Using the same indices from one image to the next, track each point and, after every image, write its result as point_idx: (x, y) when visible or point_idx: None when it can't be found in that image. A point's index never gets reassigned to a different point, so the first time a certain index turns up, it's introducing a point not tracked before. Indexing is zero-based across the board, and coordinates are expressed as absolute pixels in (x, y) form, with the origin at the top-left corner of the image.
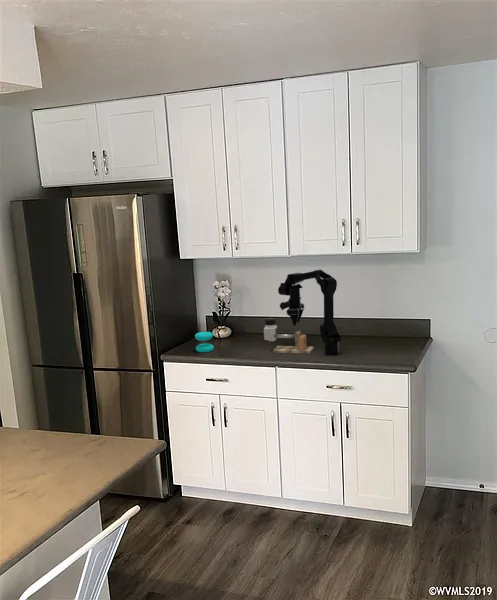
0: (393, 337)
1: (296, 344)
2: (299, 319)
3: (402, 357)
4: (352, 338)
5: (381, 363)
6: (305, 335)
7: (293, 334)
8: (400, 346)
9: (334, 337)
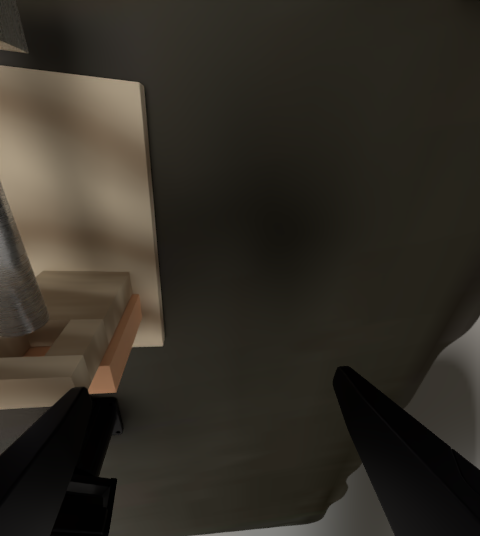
0: (332, 485)
1: None
2: (352, 433)
3: None
4: None
5: None
6: (95, 390)
7: (4, 328)
8: (227, 510)
9: (103, 500)
